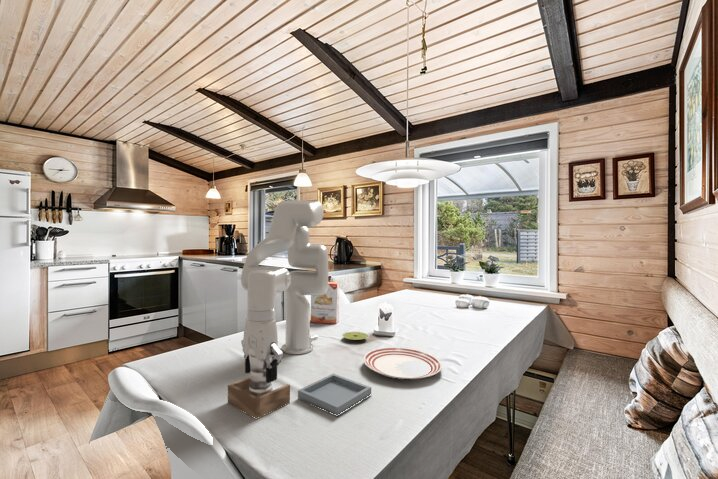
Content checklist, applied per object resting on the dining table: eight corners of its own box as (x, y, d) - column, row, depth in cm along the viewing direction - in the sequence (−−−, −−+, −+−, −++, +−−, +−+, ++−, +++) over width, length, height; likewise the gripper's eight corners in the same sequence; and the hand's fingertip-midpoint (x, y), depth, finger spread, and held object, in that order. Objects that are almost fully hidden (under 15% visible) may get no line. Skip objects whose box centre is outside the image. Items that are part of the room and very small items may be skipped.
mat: (353, 334, 161) (354, 330, 161) (373, 339, 154) (373, 335, 154) (337, 339, 152) (337, 335, 152) (357, 345, 145) (357, 341, 145)
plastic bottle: (266, 409, 93) (267, 335, 92) (243, 406, 94) (244, 333, 93) (276, 398, 99) (277, 328, 98) (254, 395, 100) (255, 327, 100)
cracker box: (310, 322, 179) (310, 282, 178) (313, 319, 185) (314, 280, 184) (336, 324, 176) (337, 283, 176) (339, 321, 182) (339, 281, 182)
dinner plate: (445, 360, 131) (445, 352, 131) (437, 392, 105) (437, 381, 105) (375, 351, 140) (375, 343, 139) (352, 378, 114) (352, 368, 114)
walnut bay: (261, 388, 104) (261, 372, 104) (289, 402, 96) (290, 385, 96) (227, 402, 96) (227, 385, 95) (256, 419, 88) (256, 400, 88)
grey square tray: (333, 381, 111) (333, 373, 111) (371, 395, 101) (371, 387, 101) (297, 398, 99) (298, 390, 99) (337, 417, 90) (337, 407, 90)
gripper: (231, 312, 98) (230, 372, 98) (270, 323, 87) (269, 390, 88) (254, 307, 104) (253, 364, 104) (292, 317, 93) (291, 380, 94)
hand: (260, 376), depth 96 cm, fingers open, 9 cm apart
